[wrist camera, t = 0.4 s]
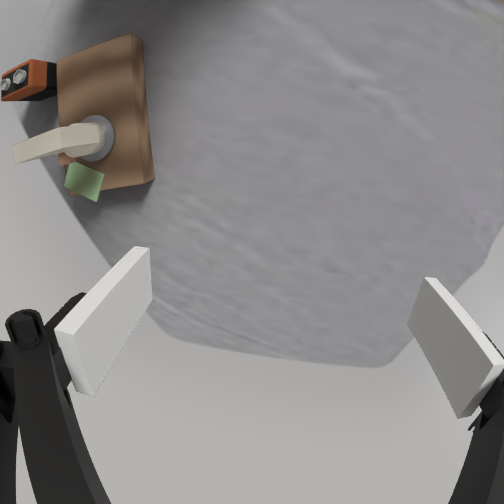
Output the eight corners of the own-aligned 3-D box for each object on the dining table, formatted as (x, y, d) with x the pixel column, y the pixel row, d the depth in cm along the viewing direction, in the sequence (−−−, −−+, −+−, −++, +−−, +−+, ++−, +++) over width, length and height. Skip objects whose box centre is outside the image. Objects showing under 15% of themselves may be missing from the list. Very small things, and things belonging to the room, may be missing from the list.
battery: (69, 90, 34) (26, 87, 25) (38, 101, 35) (-5, 102, 26) (69, 64, 33) (27, 56, 24) (38, 77, 33) (-4, 73, 24)
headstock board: (68, 66, 33) (52, 63, 29) (142, 40, 32) (129, 32, 28) (82, 200, 41) (67, 207, 37) (156, 188, 40) (144, 195, 36)
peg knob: (54, 128, 33) (-7, 136, 22) (116, 109, 32) (57, 106, 21) (59, 169, 35) (-1, 188, 24) (121, 155, 34) (64, 169, 23)
